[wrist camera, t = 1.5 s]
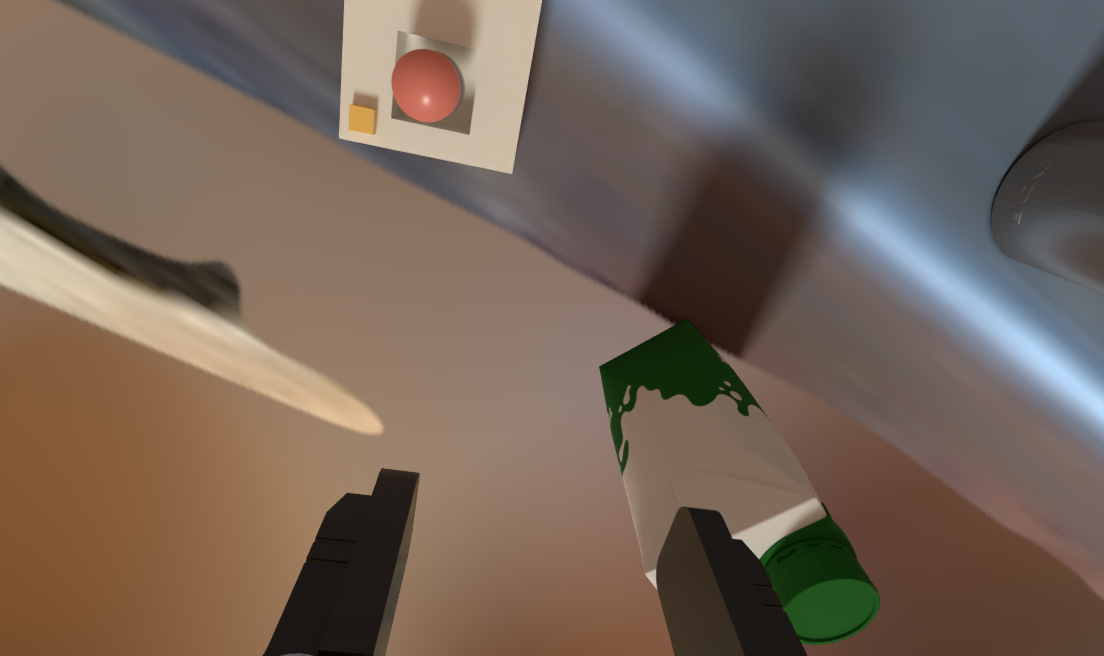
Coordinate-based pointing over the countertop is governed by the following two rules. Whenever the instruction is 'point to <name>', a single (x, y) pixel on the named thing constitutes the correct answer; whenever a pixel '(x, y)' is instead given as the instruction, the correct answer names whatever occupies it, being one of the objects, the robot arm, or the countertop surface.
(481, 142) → the button panel
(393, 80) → the button
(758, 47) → the countertop surface
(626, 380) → the milk carton
